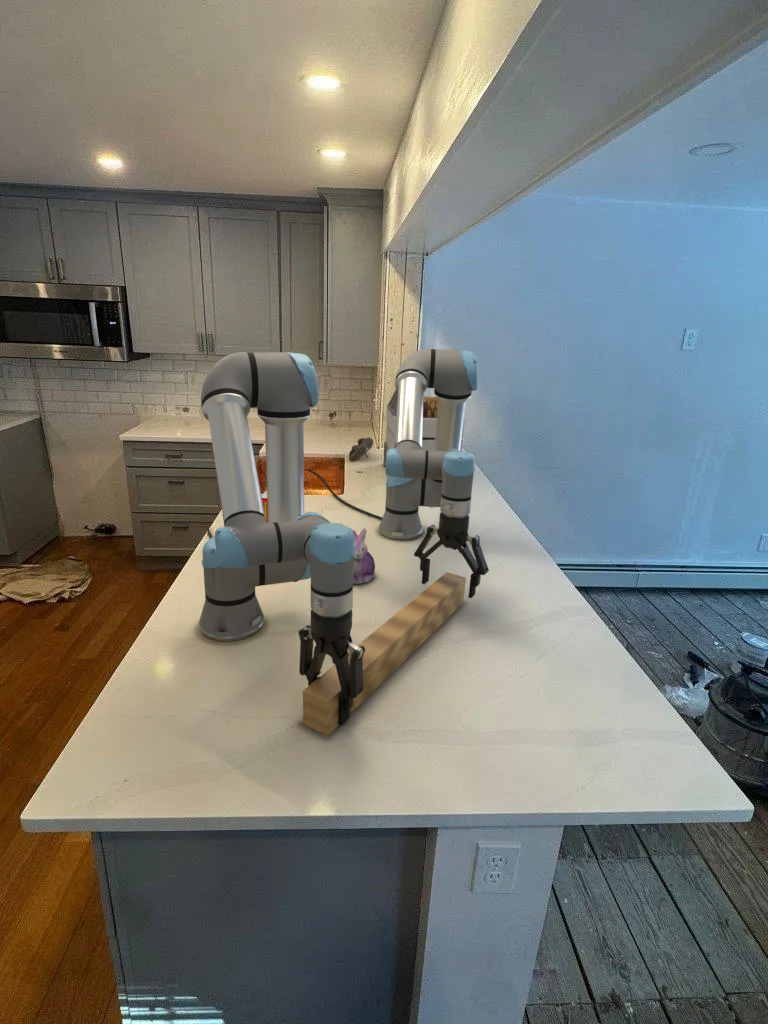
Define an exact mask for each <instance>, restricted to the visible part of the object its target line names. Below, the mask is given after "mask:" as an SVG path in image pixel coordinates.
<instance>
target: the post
mask: <svg viewBox="0 0 768 1024" xmlns="http://www.w3.org/2000/svg"><path fill="white" fill-rule="evenodd" d="M466 581H467V577H465V576H462V575H458V574H456V573H451V572H448V571H446V572H445V573H443V575H441V576H440V577H439V578H438V579H436V580H435V581H434V582H433V583H431V584H430V585H429V586H428V587H426V588H425V589H424V590H423V591H422V592H421V593H419V594H418V595H417V596H416V597H415V598H413V599H412V600H411V601H410V602H408V603H407V604H406V605H405V606H403V607H402V608H401V609H400V610H399V611H397V612H396V613H394V615H393V616H392V617H390V618H389V619H388V620H386V621H385V622H384V623H383V624H382V625H381V626H380V627H378V628H377V629H375V630H374V631H373V632H372V633H371V634H370V635H368V636H366V638H364V639H363V640H362V641H361V642H360V643H359V644H357V646H358V647H360V646H364V647H365V652H364V655H363V691H362V692H361V693H360V694H359V695H358V696H357V697H356V698H353V706H352V708H351V709H350V715H351V714H352V713H353V712H354V711H355V710H356V709H357V708H358V707H359V706H360V705H361V704H362V703H363V702H364V701H366V699H367V698H368V697H370V695H371V694H372V693H373V692H374V691H375V690H376V689H377V688H378V687H379V686H381V684H382V683H383V682H384V681H386V679H387V678H388V677H390V676H391V675H392V674H393V673H394V671H396V670H397V669H398V668H399V667H400V666H401V665H402V664H403V663H404V662H405V661H406V660H407V659H408V658H409V657H410V656H411V655H412V654H413V653H414V652H415V651H416V650H418V648H419V647H420V646H421V645H422V644H423V643H424V642H426V640H427V639H428V638H430V636H431V635H432V634H433V633H434V632H435V631H436V630H437V629H438V628H439V627H441V625H443V624H444V623H445V622H446V621H447V620H448V619H449V618H450V617H451V616H452V615H453V614H454V613H455V612H456V611H457V610H458V609H459V608H460V607H461V606H462V605H463V604H464V600H465V592H466ZM348 653H349V655H350V651H348ZM348 661H349V665H350V657H349V656H348ZM319 676H320V677H319ZM319 676H318V677H319V678H318V679H316V680H315V681H314V682H313V683H312V684H310V685H309V686H308V685H307V687H305V688H304V689H303V690H302V724H303V725H304V726H306V727H308V728H311V729H312V730H315V731H316V732H318V733H321V734H322V735H324V736H326V737H328V736H329V735H330V734H332V733H333V731H335V729H337V728H338V727H339V724H338V712H339V695H340V694H341V693H342V690H341V686H340V682H339V678H338V674H337V670H336V666H335V664H333V665H332V666H331V667H329V668H328V669H327V670H325V672H324V673H321V674H320V675H319Z"/></svg>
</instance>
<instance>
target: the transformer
mask: <svg viewBox="0 0 768 1024" xmlns="http://www.w3.org/2000/svg"><path fill="white" fill-rule="evenodd" d="M397 399H398V391H397V390H396V389H395V390H394V392H393V394H392V395H391V398H390V400H389V402H388V404H387V405H386V413H385V414H386V415H385V423H386V428H385V438H384V442H383V466H384V467H386V453H387V450H388V449H393V448H394V442H395V428H396V413H397ZM437 410H438V398H437V397H436V396H423V426H422V450H424V451H434V445H435V433H436V422H437ZM464 429H465V419H464V420H463V429H462V438H461V447H460V451H462V452H463V442H464V441H463V440H462V439H463V438H464V431H465V430H464Z"/></svg>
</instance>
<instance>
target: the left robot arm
mask: <svg viewBox="0 0 768 1024" xmlns="http://www.w3.org/2000/svg"><path fill="white" fill-rule="evenodd" d="M318 382H319V381H318V376H317V372H316V369H315V366H314V364H313V361H312V360H311V359H310V357H309V356H307V355H306V354H304V353H298V352H289V351H287V352H286V351H283V352H280V351H279V352H277V351H276V352H248V351H238V352H233V353H230V354H227V355H226V356H224V357H223V358H221V359H220V360H218V361H217V362H216V363H215V364H214V365H213V366H212V368H211V370H210V371H209V372H208V374H207V375H206V377H205V379H204V382H203V385H202V388H201V393H200V407H201V412H202V415H203V417H204V418H205V419H206V420H207V421H208V424H209V425H208V426H209V431H210V437H211V444H212V445H211V446H212V451H213V458H214V466H215V472H216V478H217V485H218V493H219V499H220V507H221V511H222V512H221V513H222V520H223V525H224V526H221V527H218V528H216V529H215V530H214V535H213V534H212V533H211V531H210V527H209V525H206V531H207V534H208V536H209V539H208V540H206V542H204V544H203V546H202V560H201V566H202V567H203V568H202V569H203V582H204V596H205V599H204V604H203V607H202V610H201V614H200V617H199V622H198V627H199V632H200V634H201V635H202V636H203V637H204V638H205V639H208V640H210V641H213V642H216V643H217V642H218V643H219V642H220V643H237V642H241V641H244V640H248V639H250V638H252V637H254V636H256V635H257V634H258V633H260V632H261V631H262V630H263V628H264V626H265V615H264V613H263V610H262V608H261V607H262V606H261V605H260V603H259V600H258V598H257V596H256V595H257V594H256V587H262V586H269V585H277V584H285V583H297V582H299V581H303V580H304V581H305V580H309V579H310V625H309V624H306V625H305V626H304V627H302V628H301V629H299V630H298V636H299V642H300V646H299V667H298V672H299V675H301V676H305V677H306V680H307V687H308V686H309V685H310V684H312V683H313V682H314V681H315V680H316V679H318V678H319V677H320V676H321V674H322V671H321V670H322V667H323V664H324V662H325V659H326V655H327V656H329V657H331V661H332V664H333V665H335V666H336V670H337V674H338V678H339V682H340V686H341V690H342V693H341V694H340V695H339V712H338V724H339V725H340V726H342V725H344V724H345V723H346V722H347V721H348V720H349V719H350V717H351V716H350V715H351V714H350V709H351V708H352V706H353V698H356V697H357V696H358V695H359V694H360V693H361V692H362V691H363V655H364V652H365V647H364V646H360V647H358V645H357V644H355V643H354V642H353V638H352V636H351V632H352V628H353V608H354V607H353V605H354V583H353V571H354V553H355V545H354V534H353V531H352V530H353V528H350V526H348V525H344V524H343V523H339V522H331V521H329V520H328V519H327V518H326V517H324V516H323V515H322V514H320V513H318V512H315V511H308V512H305V455H304V454H305V453H304V452H305V450H304V448H305V447H304V445H305V443H304V441H305V439H304V424H305V422H306V421H307V420H308V419H309V418H310V417H311V408H314V407H316V406H317V405H318V404H319V398H320V394H319V393H320V391H319V390H320V389H319V383H318ZM251 409H257V411H256V412H257V417H258V418H260V420H262V421H263V423H264V438H265V439H264V440H265V468H266V469H265V470H266V490H267V507H268V523H266V520H265V513H264V507H263V502H262V497H261V495H262V492H261V486H260V481H259V476H258V475H259V474H258V471H257V464H256V459H255V458H256V457H255V454H254V447H253V443H252V438H251V437H252V436H251V433H250V427H249V420H248V415H249V414H250V412H251ZM314 643H315V646H314ZM349 652H350V655H349ZM348 656H349V657H350V665H349V661H348ZM339 725H338V726H339Z"/></svg>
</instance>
